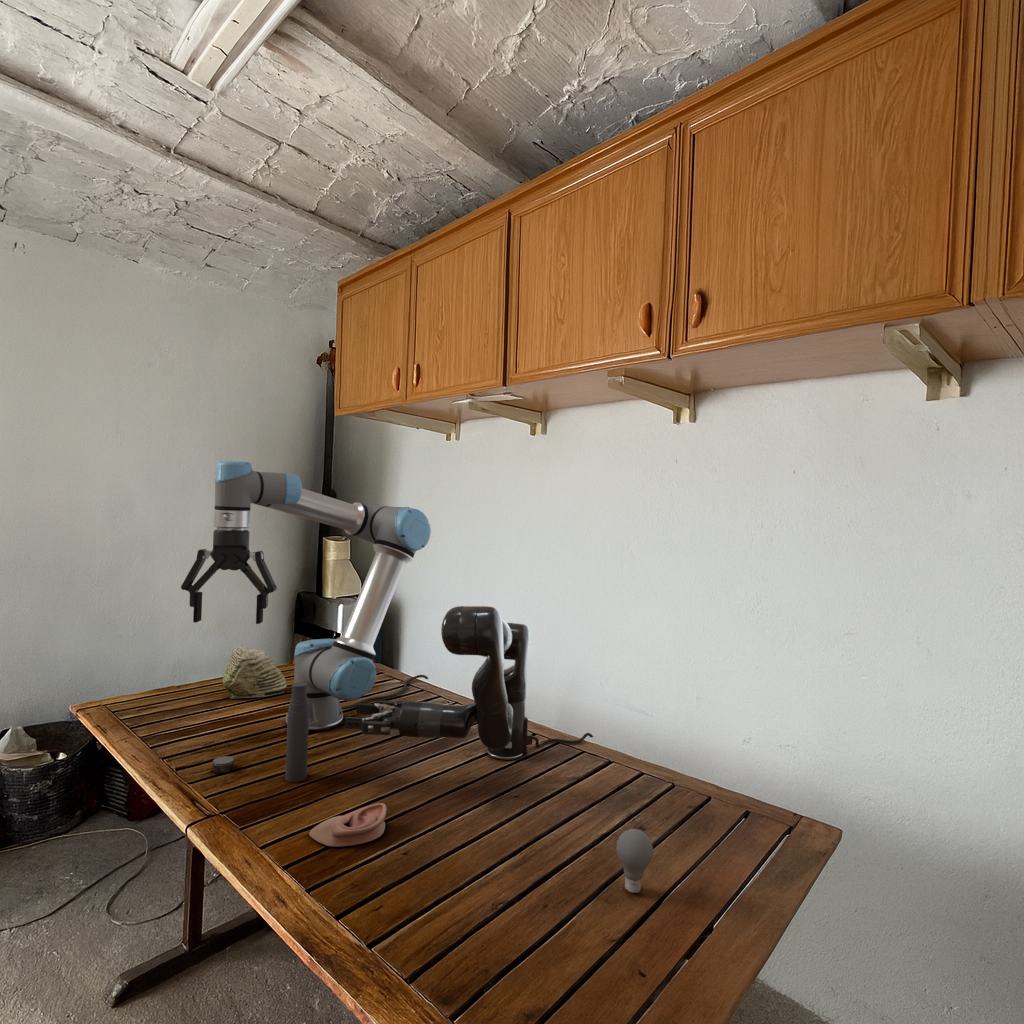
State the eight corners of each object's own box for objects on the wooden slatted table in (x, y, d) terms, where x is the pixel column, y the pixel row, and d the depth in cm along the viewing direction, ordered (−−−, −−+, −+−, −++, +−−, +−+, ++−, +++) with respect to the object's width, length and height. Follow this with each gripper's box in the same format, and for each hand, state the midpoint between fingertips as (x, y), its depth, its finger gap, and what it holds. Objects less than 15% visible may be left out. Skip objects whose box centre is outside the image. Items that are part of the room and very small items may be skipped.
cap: (212, 774, 142) (212, 765, 142) (212, 766, 146) (213, 757, 146) (233, 772, 144) (233, 762, 144) (233, 764, 148) (233, 755, 148)
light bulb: (610, 879, 108) (613, 822, 108) (644, 879, 109) (647, 822, 109) (619, 902, 102) (622, 840, 102) (655, 901, 103) (658, 840, 103)
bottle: (281, 777, 142) (285, 683, 142) (300, 771, 145) (304, 680, 145) (290, 784, 139) (294, 688, 139) (310, 778, 142) (313, 684, 142)
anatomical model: (301, 820, 116) (331, 792, 127) (300, 842, 116) (330, 812, 127) (368, 831, 113) (393, 801, 124) (368, 853, 113) (392, 821, 124)
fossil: (218, 695, 195) (220, 647, 195) (278, 685, 208) (279, 640, 207) (228, 703, 189) (230, 653, 188) (289, 692, 201) (290, 645, 201)
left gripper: (166, 527, 139) (163, 623, 139) (284, 532, 141) (280, 626, 142) (181, 526, 146) (178, 617, 147) (292, 530, 149) (288, 620, 149)
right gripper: (429, 692, 148) (360, 688, 148) (416, 714, 133) (341, 709, 134) (428, 724, 148) (359, 720, 149) (415, 749, 134) (340, 744, 135)
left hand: (228, 622), depth 144 cm, fingers open, 13 cm apart
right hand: (351, 715), depth 142 cm, fingers open, 8 cm apart
